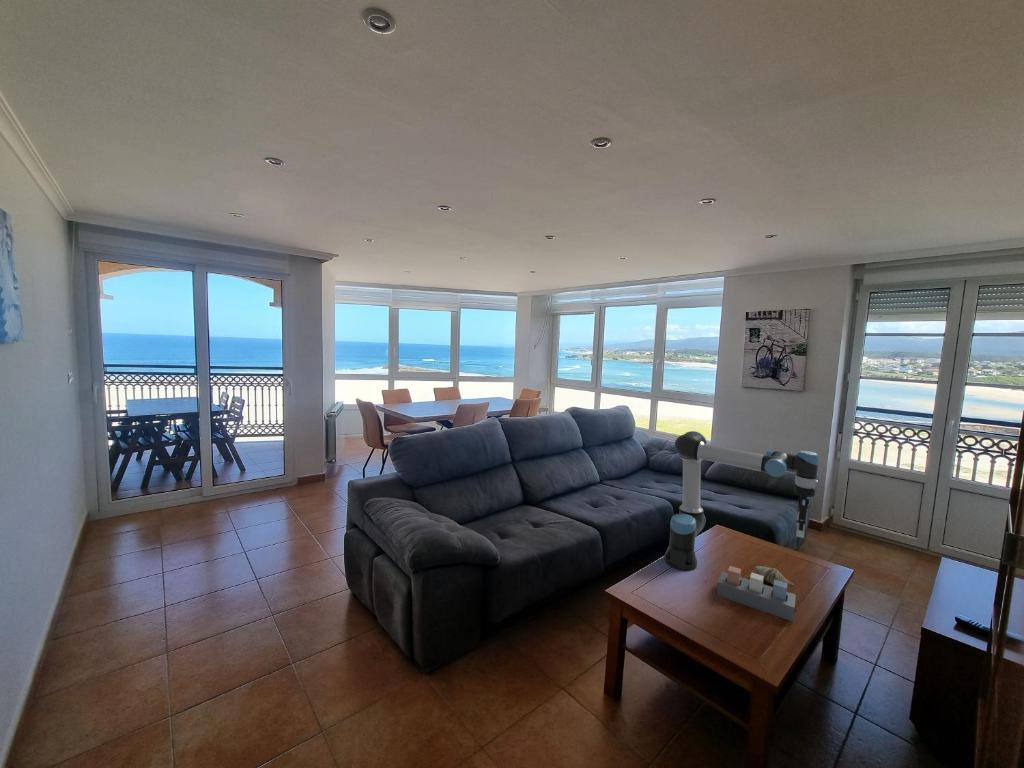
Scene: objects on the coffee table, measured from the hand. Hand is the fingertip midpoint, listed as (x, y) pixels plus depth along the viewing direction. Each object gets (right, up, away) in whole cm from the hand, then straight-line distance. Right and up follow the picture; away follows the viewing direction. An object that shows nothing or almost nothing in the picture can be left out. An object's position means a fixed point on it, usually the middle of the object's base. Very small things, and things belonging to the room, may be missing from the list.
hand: (800, 531), depth 185 cm
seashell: (-10, -27, +4) cm, 29 cm away
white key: (-25, -23, -9) cm, 35 cm away
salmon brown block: (-32, -22, -4) cm, 39 cm away
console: (-25, -27, -8) cm, 38 cm away
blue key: (-18, -24, -14) cm, 33 cm away
